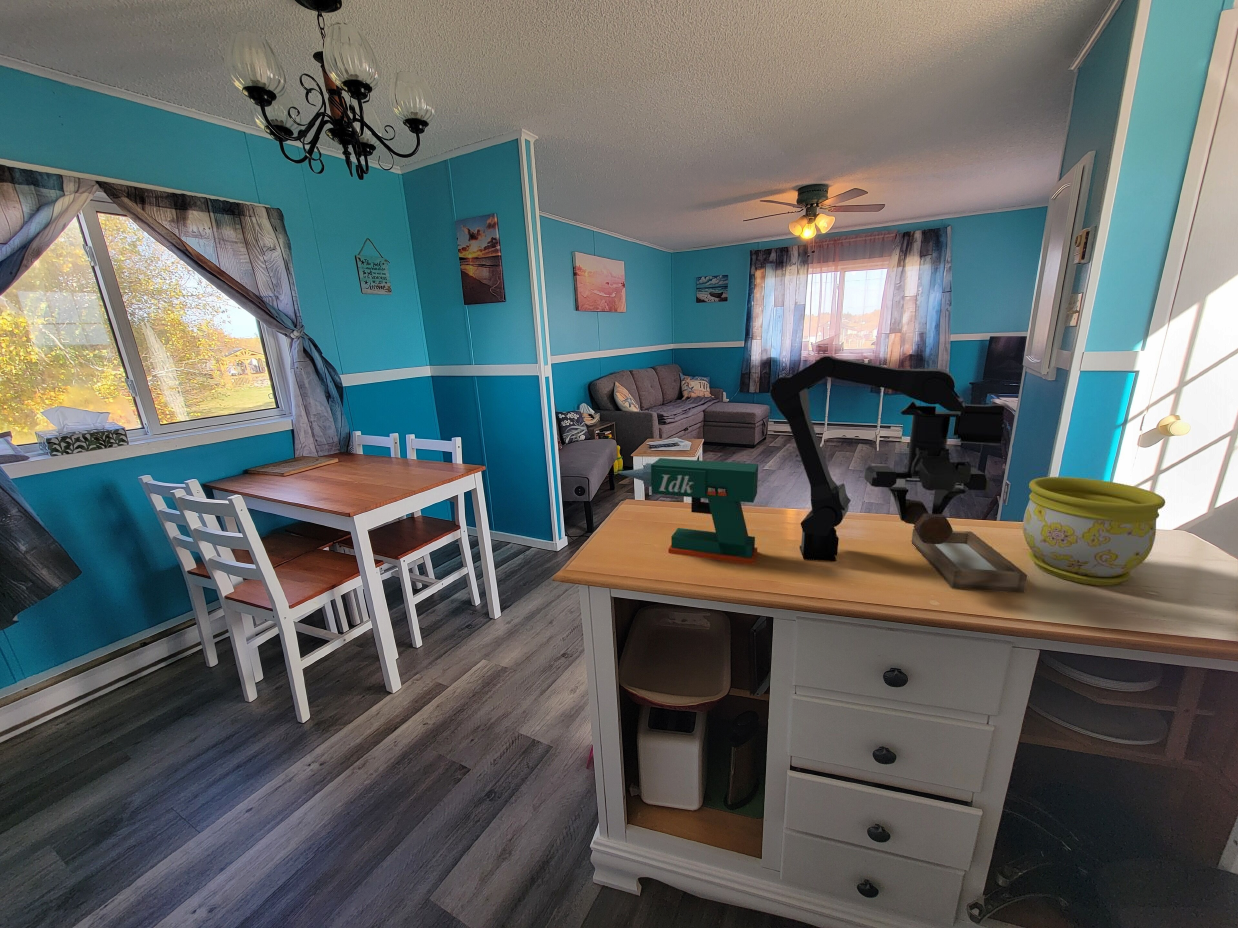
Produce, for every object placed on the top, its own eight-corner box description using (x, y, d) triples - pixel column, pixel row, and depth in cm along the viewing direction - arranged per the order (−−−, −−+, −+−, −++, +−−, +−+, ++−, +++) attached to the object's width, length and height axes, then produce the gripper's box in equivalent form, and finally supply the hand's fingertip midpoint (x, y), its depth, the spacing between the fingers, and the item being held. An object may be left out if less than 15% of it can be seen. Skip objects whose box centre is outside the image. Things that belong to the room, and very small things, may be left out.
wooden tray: (952, 588, 87) (954, 570, 86) (911, 543, 107) (913, 528, 106) (1024, 593, 85) (1027, 575, 84) (968, 546, 104) (971, 531, 103)
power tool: (611, 546, 110) (608, 462, 106) (622, 535, 117) (620, 455, 112) (753, 565, 99) (757, 472, 94) (757, 552, 105) (760, 464, 100)
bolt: (907, 523, 97) (937, 551, 83) (885, 510, 98) (910, 536, 84) (926, 500, 96) (959, 524, 81) (903, 487, 96) (932, 509, 82)
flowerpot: (1122, 561, 95) (1141, 482, 91) (1162, 603, 80) (1187, 511, 76) (1008, 544, 104) (1021, 472, 100) (1024, 579, 89) (1041, 496, 85)
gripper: (885, 448, 81) (876, 534, 85) (1012, 450, 77) (997, 540, 80) (867, 436, 91) (860, 513, 95) (978, 437, 87) (966, 517, 91)
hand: (918, 521), depth 90 cm, fingers closed on bolt, 5 cm apart
